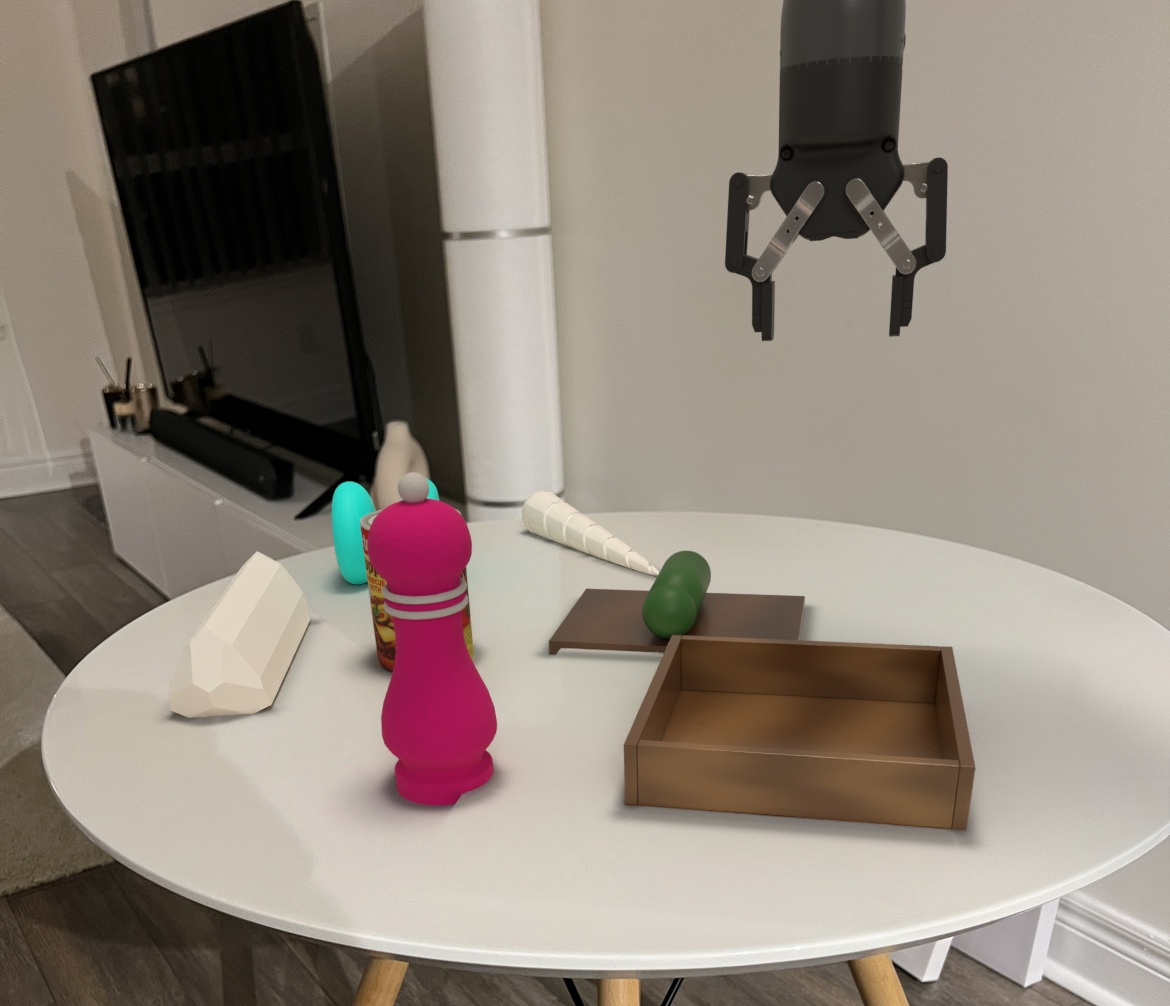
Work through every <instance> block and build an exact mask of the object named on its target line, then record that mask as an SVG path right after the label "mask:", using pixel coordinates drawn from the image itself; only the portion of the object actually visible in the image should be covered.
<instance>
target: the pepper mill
mask: <svg viewBox="0 0 1170 1006" xmlns="http://www.w3.org/2000/svg"><path fill="white" fill-rule="evenodd" d="M426 479H427V478H426V477H425V476H424V475H423V474H421V473H420V472H415V471H410V472H407V473H405V474H403V475H402V476H401V477H400V478H399V481H398V483H397V492H398V495H399V497H400V499H403V500H402V501H401V500H399V501H396V502H394V503H391V504H389V505H387V506H386V507H385V508H383V510H382V509H381V510H382V511H381V512H380V513H379V514H378V515H377V516H376V517H375V518H374V520H373V522H372V524H371V526H370V529H369V533H368V540H367V547H368V555H369V560H370V563H371V565H372V566H373V568H374V569H375V570H376V572H377V573H378V574H379V575H380V576H381V577H382V578H383V579H384V580H385V581H386V582H387V583H386V584H385V585H384V586H383V588H382V595H383V596H384V597H385V599H384V600H385V602H384V610H385V611H386V612H387V613H388V614H390V615H392V619H393V624H394V629H395V641H396V656H395V664H394V669H393V672H392V673H391V676H390V680H389V684H388V686H387V689H386V693H385V696H384V699H383V702H382V710H381V714H380V727H381V738H382V740H383V743H384V746H385V747H386V748H387V750H388V751H389V752H390V753H391V754H392V756H395V757H396V758H397V759H398V760H397V761H396V763H395V765H394V776H395V783H396V790H397V793H398V795H400V797H402V798H403V799H405V800H407V801H409V802H411V803H415V804H418V805H422V806H423V805H424V806H432V807H433V806H436V807H437V806H439V807H441V806H450V805H451V806H452V805H456V804H457V803H458V801H459V800H460V798H461V797H462V796H463V794H465V793H468V792H471V791H474V790H476V789H479V788H480V787H482V786H484V785H485V784H487V783H488V782H489V781H490V779H491V778H492V777H493V774H494V761H493V756H492V755H491V753H490V752H489V751H488V748H489V746H490V745H491V744H492V742H493V741H494V739H495V737H496V734H497V731H498V719H497V713H496V708H495V705H494V701H493V698H492V696H491V694H490V691H489V689H488V686H487V685H486V683H485V682H484V680H483V678H482V676H481V674H480V673H479V671H478V669H477V667H476V665H475V663H474V661H473V659H471V657H470V654H469V652H468V649H467V646H466V643H465V638H464V632H463V626H462V609H464V608H465V607H466V605H467V604H468V597H467V595H466V591H465V590H466V588H467V583H466V581H465V580H464V579H463V578H461V577H460V576H461V573H462V572H463V570H464V569H465V567H466V568H467V566H468V564H469V563H470V561H471V557H472V555H473V553H472V552H473V542H472V536H471V533H470V529H469V527H468V523H467V522H466V520H465V518H464V517H463V516H461V515H462V513H461V512H460V513H461V514H460V513H459V512H457V511H456V510H457V509H456V508H454V506H452V505H450V504H449V503H446V502H443V501H441V500H439V501H438V500H434V499H428V498H427V496H428V494H429V484H428V481H427V480H426ZM455 509H456V510H455Z"/></svg>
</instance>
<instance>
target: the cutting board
mask: <svg viewBox="0 0 1170 1006" xmlns="http://www.w3.org/2000/svg"><path fill="white" fill-rule="evenodd" d="M649 591H650V590H639V589H613V588H611V589H609V588H585V589H584V591H583V592H582V594H581V595H580V597H579V598H578V599H577V600H576V602H575V603H574V605H573V606H572V608H571V610H570V611H568V613H567V614H566V616H565V617H564V619H563V621H562V622H561V623H560V625H559V626H558V627H557V629H556V630H555V632H554V633H553V635H552V636H551V637H550V639H549V640H548V652H549V653H548V654H549V655H551V656H556V655H558V653H559V651H560V650H561V649H575V650H576V649H577V650H596V651H619V652H641V653H663V654H664V652H665V650H666V647H667V645H668V643H669V641H670V639H665V638H661V637H658V636H656V635H655V634H653V633H652V632H651V631H650V630H649V629H648V628H647V626H646V624H645V622H644V620H643V616H642V608H643V603H644V600H645V598H646V596H647V595H648V593H649ZM805 602H806V596H805V595H788V594H787V595H786V594H758V593H757V594H756V593H755V594H754V593H731V592H729V593H728V592H727V593H726V592H706V594H705V597H704V599H703V602H702V604H701V607H700V609H699V612H698V614H697V617H696V619H695V622H694V624H693V626H692V627H691V628H690V630H689V631H688V632H687V633H685V634H684V635H687V636H710V637H734V638H757V639H781V640H801V635H802V628H803V620H804V614H805V606H806V605H805V604H806V603H805ZM682 636H683V635H682Z"/></svg>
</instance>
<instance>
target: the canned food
mask: <svg viewBox="0 0 1170 1006" xmlns="http://www.w3.org/2000/svg"><path fill="white" fill-rule="evenodd" d="M383 509H384V508H383ZM383 509H379V510H375V512H372V513H369V514H367V515H365V516H363V517H362V518H361V520H360V527H361V535H362V542H363V550H364V558H365V565H366V573H367V580H368V582H367V586H368V594H369V602H370V603H369V604H370V610H371V617H372V625H373V634H374V641H375V648H376V655H377V663H378V666H379V667H380V668H381V669H382V670H383V671H385V672H388V673H390V674H392V672H393V669H394V664H395V656H396V641H395V629H394V624H393V619H392V615H390V614H388V613H387V612H386V611H385V610H384V602H385V600H384V599H385V597H384V596H383V595H382V588H383V586H384V585H385V584H386V583H387V582H386V581H385V580H384V579H383V578H382V577H381V576H380V575H379V574H378V573H377V572H376V570H375V569H374V568H373V566H372V565H371V563H370V560H369V555H368V547H367V540H368V533H369V529H370V526H371V524H372V522H373V520H374V518H375V517H376V516H377V515H378V514H379V513H380V512H381V511H382V510H383ZM454 509H455V510H456V511H457V512H459V513H460V514H461V516H462V515H463V514H462V513H461V511H460V510H459V509H456V508H454ZM462 517H463V516H462ZM460 577H461V578H463V579H464V580H465V581H466V583H467V588H466V590H465V591H466V595H467V597H468V604H467V605H466V607H465V608H464V609H462V626H463V632H464V638H465V643H466V646H467V649H468V652H469V654H470V657H471V659H472V660H473V658H474V655H475V653H474V652H475V651H474V641H473V639H474V638H473V628H472V627H473V626H472V618H471V607H470V594H469V584H468V582H469V581H468V573H467V566H466V567H465V569H464V570H463V572H462V573H461V576H460Z"/></svg>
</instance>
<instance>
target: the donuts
mask: <svg viewBox="0 0 1170 1006" xmlns="http://www.w3.org/2000/svg"><path fill="white" fill-rule="evenodd" d="M426 480H427V481H428V484H429V494H428V496H427V498H428V499H434V500H438V501H440V497H439V492H438V488H437V487H436V485H435V484H434V483H433V481H432V480H430V479H428V478H426ZM332 495H333V496H332V501H331V529H332V540H333V545H334V546H333V548H334V553H335V558H336V562H337V566H338V568H339V571H340V574H341V576H342V577H343V578H344V580H345V581H347V582H348V583H350V584H352V585H356V586H357V585H359V586H360V585H363V584H367V583H368V580H367V573H366V565H365V558H364V550H363V542H362V535H361V527H360V520H361V518H362V517H363V516H365V515H367V514H369V513H372V512H375V511H376V508H375V505H374V502H373V500H372V498H371V496H370V494H369V492H368V490H366V489H365V487H363V486H362V485H361V484H359V483H358V482H355V481H345V482H342V483H340V484H339V485H338V486H337V487H336V488H335V490H334V493H333V494H332ZM400 499H401V500H400V501H402V500H403V499H402V498H400Z"/></svg>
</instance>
